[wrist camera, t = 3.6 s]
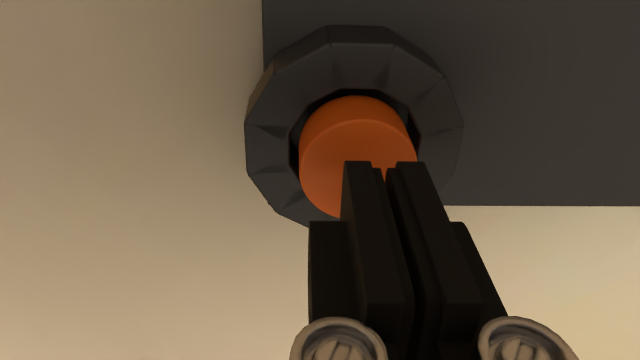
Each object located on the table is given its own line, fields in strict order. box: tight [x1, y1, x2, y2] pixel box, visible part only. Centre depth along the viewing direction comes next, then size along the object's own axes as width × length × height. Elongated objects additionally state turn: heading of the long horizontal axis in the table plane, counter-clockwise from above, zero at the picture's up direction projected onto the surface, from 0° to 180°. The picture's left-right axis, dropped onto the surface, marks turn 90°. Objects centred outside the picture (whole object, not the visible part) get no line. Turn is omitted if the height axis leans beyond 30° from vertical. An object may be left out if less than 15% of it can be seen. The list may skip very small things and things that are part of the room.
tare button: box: [299, 95, 417, 218], centre depth 13 cm, size 3×3×2 cm
